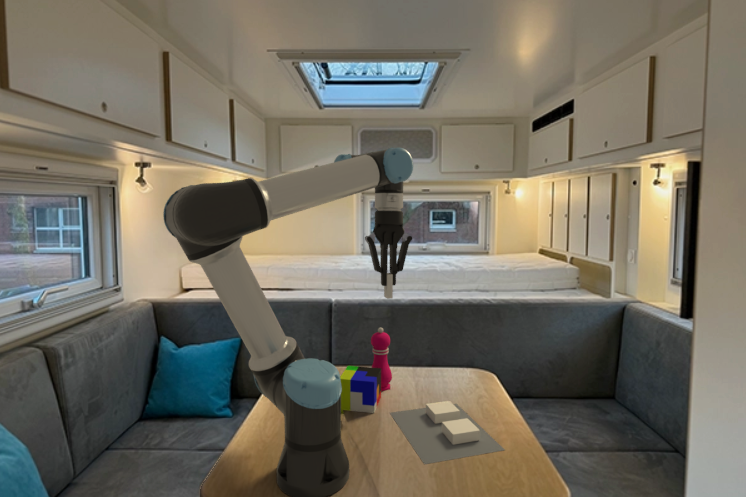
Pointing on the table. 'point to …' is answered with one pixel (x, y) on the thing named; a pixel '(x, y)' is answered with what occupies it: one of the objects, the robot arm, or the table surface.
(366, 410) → the puzzle toy
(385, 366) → the pepper mill
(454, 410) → the tile
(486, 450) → the slate board
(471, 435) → the tile
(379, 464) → the table surface
